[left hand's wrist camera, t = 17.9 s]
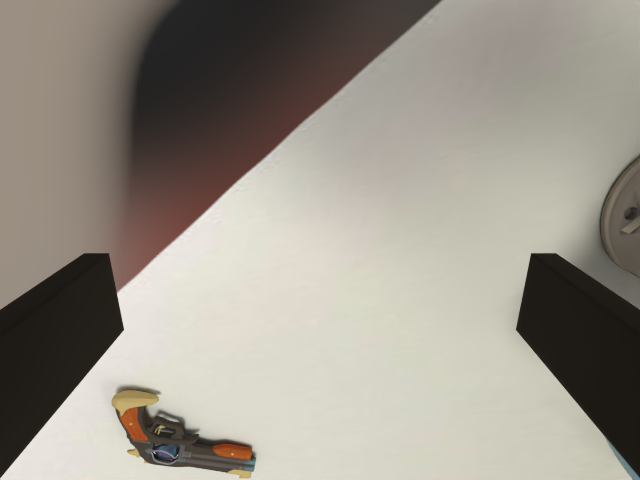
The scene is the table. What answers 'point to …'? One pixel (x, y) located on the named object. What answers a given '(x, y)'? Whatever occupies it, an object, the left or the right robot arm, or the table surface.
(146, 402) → the toy gun
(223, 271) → the table surface
